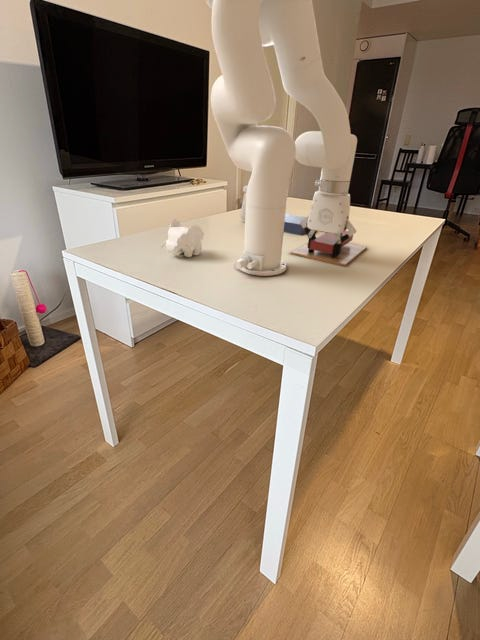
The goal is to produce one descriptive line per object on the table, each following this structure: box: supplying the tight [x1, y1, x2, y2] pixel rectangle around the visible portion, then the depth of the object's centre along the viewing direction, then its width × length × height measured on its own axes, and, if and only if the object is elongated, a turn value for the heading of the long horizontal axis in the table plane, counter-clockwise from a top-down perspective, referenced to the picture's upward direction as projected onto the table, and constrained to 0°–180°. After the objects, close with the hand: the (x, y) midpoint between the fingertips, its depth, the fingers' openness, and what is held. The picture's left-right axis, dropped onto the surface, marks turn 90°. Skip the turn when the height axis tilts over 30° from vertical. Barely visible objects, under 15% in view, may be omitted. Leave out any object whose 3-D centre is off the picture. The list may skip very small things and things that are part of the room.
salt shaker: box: [239, 184, 248, 224], centre depth 128 cm, size 6×6×13 cm
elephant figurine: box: [160, 218, 205, 258], centre depth 92 cm, size 10×12×9 cm
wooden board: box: [290, 242, 367, 267], centre depth 102 cm, size 20×16×1 cm
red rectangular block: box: [310, 230, 354, 254], centre depth 101 cm, size 18×6×2 cm, turn 146°
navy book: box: [284, 213, 307, 236], centre depth 125 cm, size 12×17×4 cm
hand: (323, 253), depth 98 cm, fingers closed on red rectangular block, 6 cm apart
